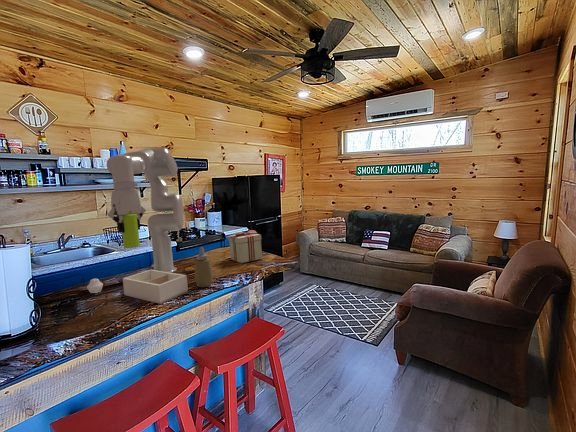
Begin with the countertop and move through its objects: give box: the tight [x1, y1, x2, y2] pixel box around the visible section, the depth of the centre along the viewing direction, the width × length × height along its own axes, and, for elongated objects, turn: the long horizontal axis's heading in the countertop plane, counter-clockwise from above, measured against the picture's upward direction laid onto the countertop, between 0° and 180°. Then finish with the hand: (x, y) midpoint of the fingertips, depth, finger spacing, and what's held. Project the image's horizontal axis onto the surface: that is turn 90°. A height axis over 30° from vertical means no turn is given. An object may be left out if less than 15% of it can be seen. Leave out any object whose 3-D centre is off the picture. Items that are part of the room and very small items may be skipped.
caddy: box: [122, 269, 189, 305], centre depth 133 cm, size 24×14×8 cm, turn 60°
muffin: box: [86, 278, 104, 294], centre depth 137 cm, size 6×6×7 cm
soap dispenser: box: [121, 211, 141, 249], centre depth 124 cm, size 6×7×20 cm
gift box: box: [225, 229, 263, 264], centre depth 184 cm, size 17×18×17 cm
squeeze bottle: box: [194, 246, 214, 288], centre depth 139 cm, size 8×8×18 cm
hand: (129, 230), depth 124 cm, fingers closed on soap dispenser, 5 cm apart
